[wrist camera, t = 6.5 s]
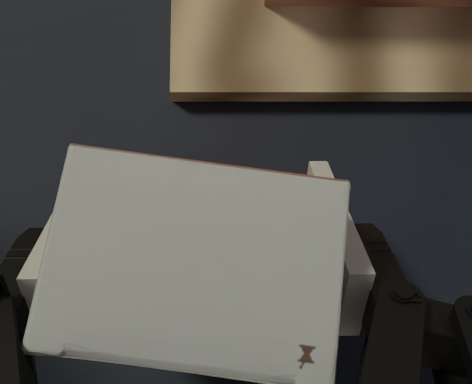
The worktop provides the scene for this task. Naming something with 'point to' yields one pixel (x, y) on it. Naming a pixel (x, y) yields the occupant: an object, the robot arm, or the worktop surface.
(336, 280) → the small box
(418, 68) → the tower base
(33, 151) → the worktop surface
